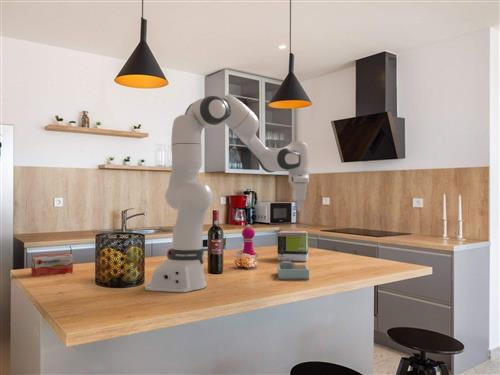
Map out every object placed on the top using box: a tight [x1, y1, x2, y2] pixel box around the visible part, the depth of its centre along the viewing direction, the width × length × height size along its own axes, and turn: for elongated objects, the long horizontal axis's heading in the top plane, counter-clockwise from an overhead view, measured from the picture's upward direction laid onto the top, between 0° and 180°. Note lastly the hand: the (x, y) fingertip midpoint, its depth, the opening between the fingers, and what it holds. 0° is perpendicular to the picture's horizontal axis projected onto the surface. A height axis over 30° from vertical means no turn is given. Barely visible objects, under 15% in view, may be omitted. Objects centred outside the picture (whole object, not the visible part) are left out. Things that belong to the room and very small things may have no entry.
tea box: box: [276, 230, 309, 262], centre depth 214 cm, size 15×10×15 cm
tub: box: [277, 263, 310, 281], centre depth 172 cm, size 12×13×4 cm
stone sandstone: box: [292, 262, 306, 269], centre depth 170 cm, size 4×4×5 cm
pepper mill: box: [241, 224, 256, 255], centre depth 192 cm, size 7×7×20 cm
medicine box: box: [30, 252, 74, 278], centre depth 175 cm, size 15×8×8 cm, turn 125°
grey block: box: [281, 260, 293, 269], centre depth 174 cm, size 4×4×5 cm
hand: (298, 210), depth 179 cm, fingers open, 8 cm apart
